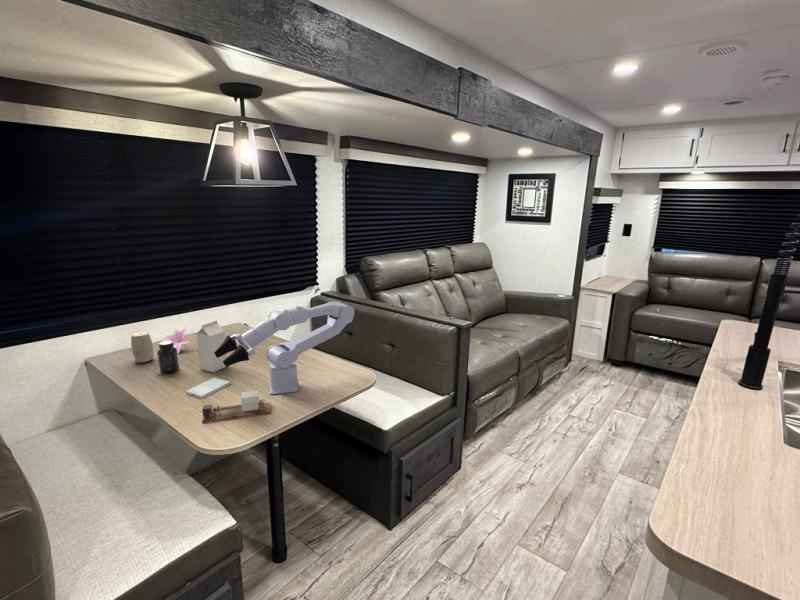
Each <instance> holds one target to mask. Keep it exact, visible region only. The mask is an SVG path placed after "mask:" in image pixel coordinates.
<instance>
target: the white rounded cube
mask: <svg viewBox="0 0 800 600" xmlns="http://www.w3.org/2000/svg"><path fill="white" fill-rule="evenodd" d="M259 398H260V397H259V390H252V391H243V392H241V398H240V401H241V402H240V403H241V404H242V412H246V411H253V410H259V402H260V399H259Z"/></svg>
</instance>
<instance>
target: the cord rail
mask: <svg viewBox="0 0 800 600" xmlns="http://www.w3.org/2000/svg"><path fill="white" fill-rule="evenodd" d="M271 408H272V407H271V402H265V399H259V410H253V411H246V412H242V403H241V404H234V405H233V404H232V405H226V406H220V405H216V407H215V405H213V404H205V405H203V406H202V418H201V419H202V420H201V423H202V422H204V423H211V422H210V421H212V422H218V421H225V420H231V419H233V420H234V419H239V418H241V419H242V418H249V417H256V416H262V415H269V414H270V415H271V413H272V412H271Z"/></svg>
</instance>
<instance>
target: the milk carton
mask: <svg viewBox="0 0 800 600" xmlns="http://www.w3.org/2000/svg"><path fill="white" fill-rule="evenodd" d="M225 335H226V333H225V330H224V329H223V328H222V327H221V326H220V324H219V323H218V320H217V319H216V320H213V321H209V322H208V323H204V324H201V328H200V329H199V330H198V331H197V332H196V340H197V349H198V360H199V369H200V370H203V371H207V372H211V373H216V372H217V371H220V370H222V369H224V368H227V367H226V366H225V365H224V363H223V360H224V359H226V358H227V357H228V356H227V353H226V354H225V355H223V356H221V357H219V358H217V357H216V356H215V354H214V352H215V351H216V350H217V349H218V348H219V347H220V346H221V345H222V343H223V342H224V341H225V339H226V336H225Z"/></svg>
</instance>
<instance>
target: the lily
mask: <svg viewBox="0 0 800 600" xmlns="http://www.w3.org/2000/svg"><path fill="white" fill-rule="evenodd" d="M187 330H188V327H184V328H182V329H181V330H179V329H178V328H177V327H175V328H174V330H173V334H170V335H167V336H165V337H163V341H168V340H170V341H173V344H174V347H175V348H176V349H177V352H178V353H179V354H180V351H181V347H182V345H183V346H184V347H185V346H186V344H188V343H190V341H189V340H188V339H187V338H185V335H186V332H187Z"/></svg>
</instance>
